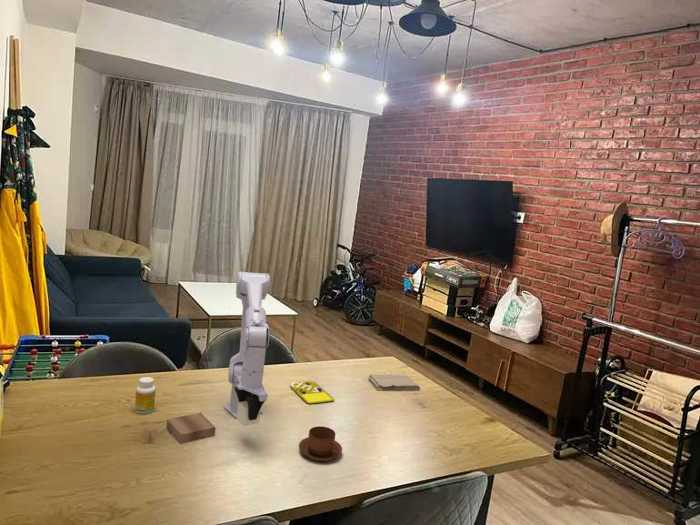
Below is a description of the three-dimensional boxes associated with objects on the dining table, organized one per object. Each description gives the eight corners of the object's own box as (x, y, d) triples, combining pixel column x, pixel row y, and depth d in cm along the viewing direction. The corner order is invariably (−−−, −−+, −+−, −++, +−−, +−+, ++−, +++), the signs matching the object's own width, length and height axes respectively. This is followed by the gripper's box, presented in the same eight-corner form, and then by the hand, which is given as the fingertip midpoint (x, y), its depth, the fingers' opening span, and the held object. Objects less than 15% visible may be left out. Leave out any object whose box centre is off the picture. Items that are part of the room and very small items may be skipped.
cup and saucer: (347, 449, 148) (349, 429, 147) (331, 469, 136) (334, 448, 136) (308, 438, 151) (311, 418, 151) (291, 456, 140) (293, 435, 139)
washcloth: (366, 380, 204) (367, 372, 204) (407, 380, 210) (408, 372, 210) (376, 392, 193) (378, 384, 193) (420, 392, 199) (421, 384, 198)
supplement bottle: (147, 415, 152) (149, 384, 151) (130, 411, 153) (133, 380, 152) (157, 408, 158) (159, 378, 156) (141, 404, 159) (143, 374, 157)
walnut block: (199, 422, 153) (200, 412, 153) (214, 437, 146) (215, 427, 145) (166, 429, 147) (167, 419, 147) (179, 445, 139) (180, 434, 139)
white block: (250, 416, 147) (252, 399, 146) (258, 422, 143) (260, 406, 142) (236, 419, 144) (238, 402, 143) (244, 426, 140) (246, 408, 140)
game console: (336, 403, 179) (336, 399, 179) (307, 407, 173) (308, 402, 173) (312, 383, 194) (313, 379, 194) (285, 386, 189) (286, 382, 188)
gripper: (227, 361, 144) (223, 407, 146) (252, 380, 133) (247, 429, 135) (250, 358, 149) (245, 403, 151) (276, 376, 138) (271, 424, 140)
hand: (248, 415), depth 143 cm, fingers closed on white block, 4 cm apart
